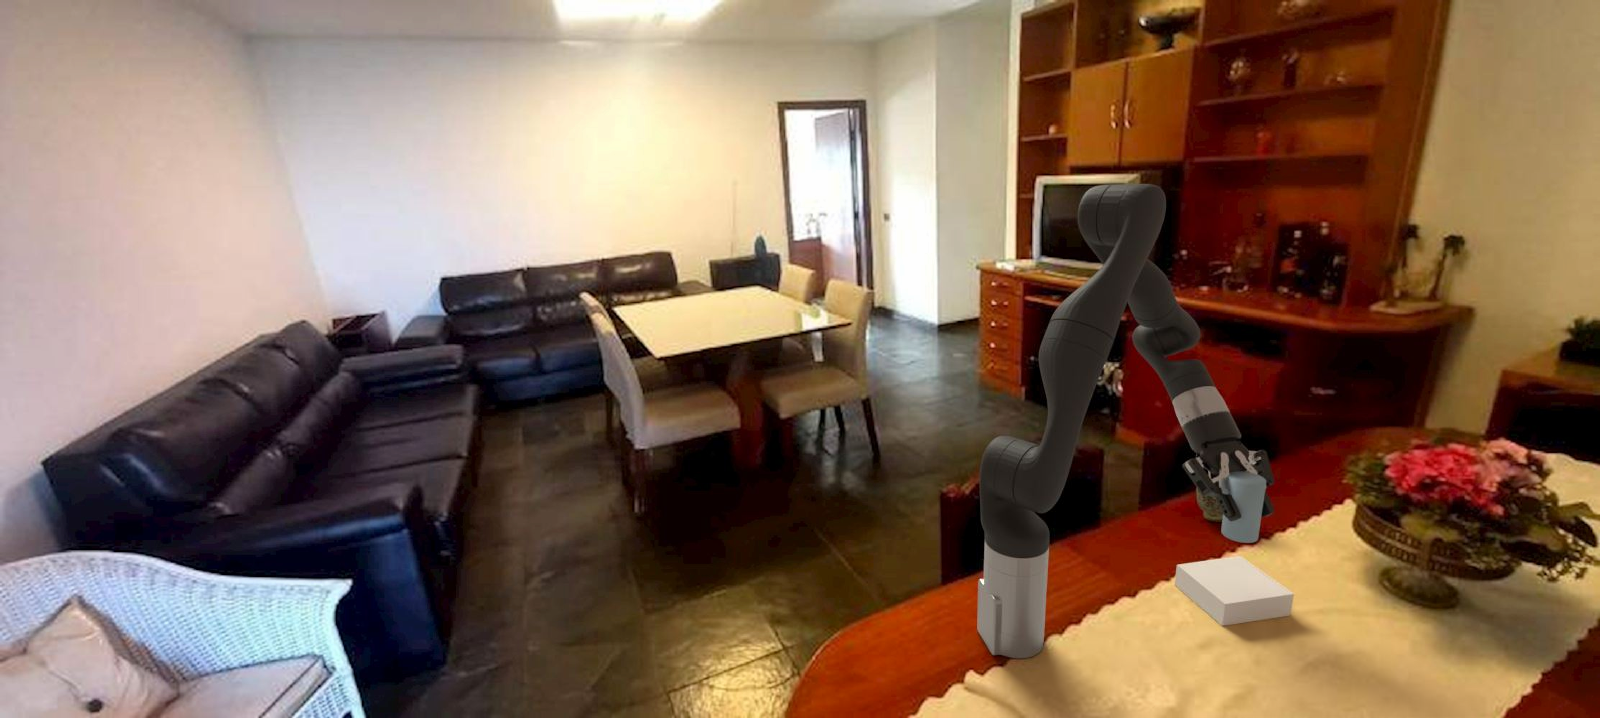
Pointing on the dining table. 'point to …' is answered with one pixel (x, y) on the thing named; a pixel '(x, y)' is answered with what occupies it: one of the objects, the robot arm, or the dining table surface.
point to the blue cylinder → (1245, 506)
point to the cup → (1210, 507)
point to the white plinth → (1233, 590)
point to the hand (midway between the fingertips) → (1251, 517)
